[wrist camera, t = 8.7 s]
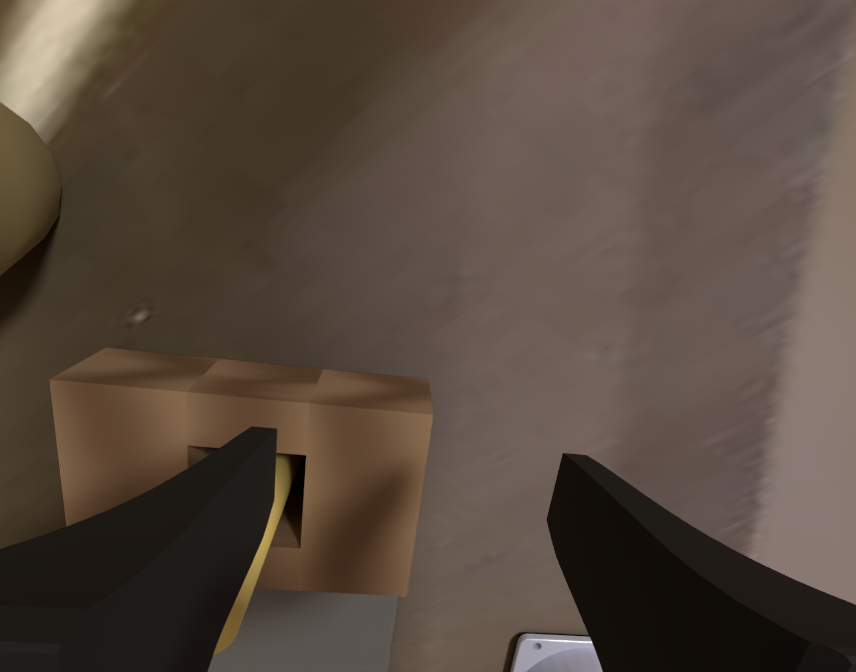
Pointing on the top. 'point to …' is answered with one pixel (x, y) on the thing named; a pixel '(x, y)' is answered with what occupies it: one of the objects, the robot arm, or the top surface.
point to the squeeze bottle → (24, 188)
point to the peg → (261, 547)
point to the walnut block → (296, 434)
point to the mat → (311, 633)
